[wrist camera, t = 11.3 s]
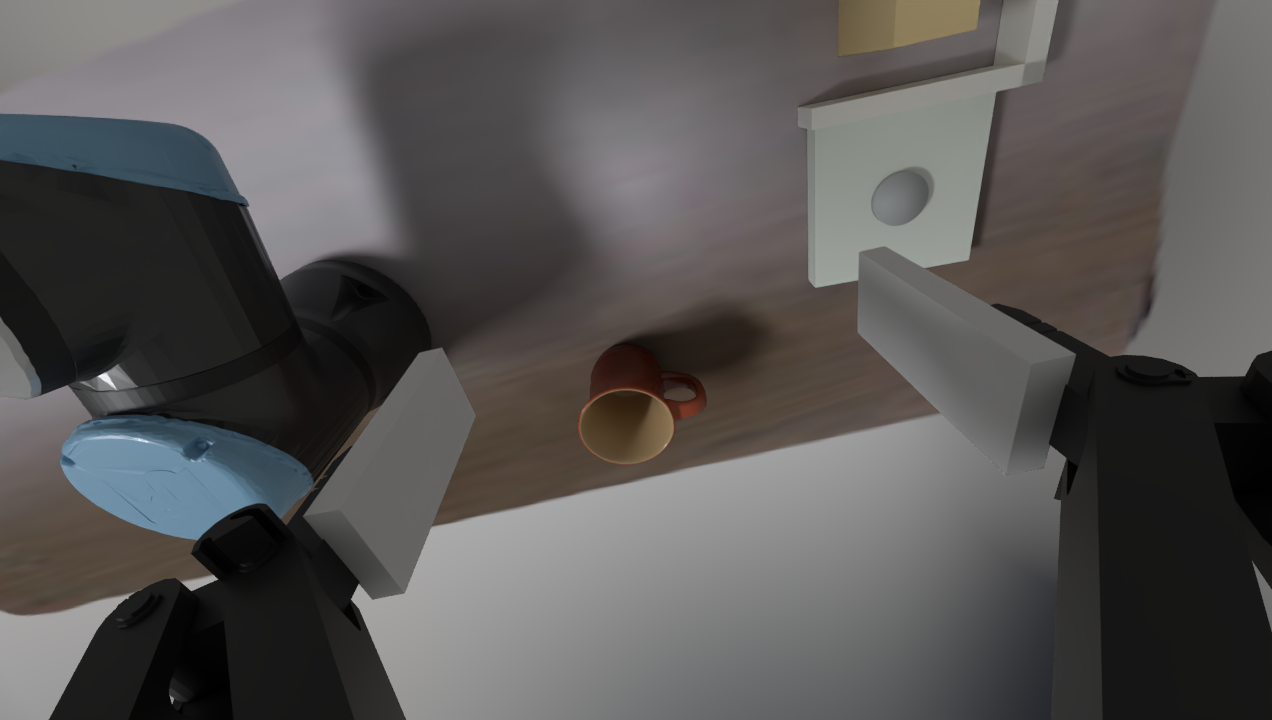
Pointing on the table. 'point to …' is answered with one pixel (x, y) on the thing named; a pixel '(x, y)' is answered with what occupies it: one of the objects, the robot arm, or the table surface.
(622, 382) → the mug
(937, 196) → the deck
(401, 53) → the table surface
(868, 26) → the chute block
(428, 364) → the robot arm
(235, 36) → the table surface
